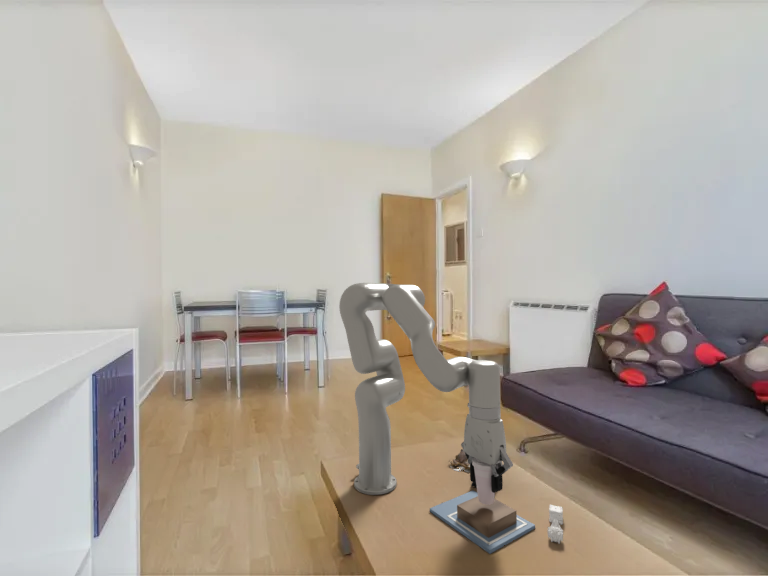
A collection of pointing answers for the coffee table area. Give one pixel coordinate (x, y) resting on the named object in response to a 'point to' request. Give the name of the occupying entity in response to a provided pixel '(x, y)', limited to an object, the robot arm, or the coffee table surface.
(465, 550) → the coffee table surface
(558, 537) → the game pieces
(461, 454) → the frog figurine
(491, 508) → the plinth
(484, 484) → the smoothie
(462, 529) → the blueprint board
